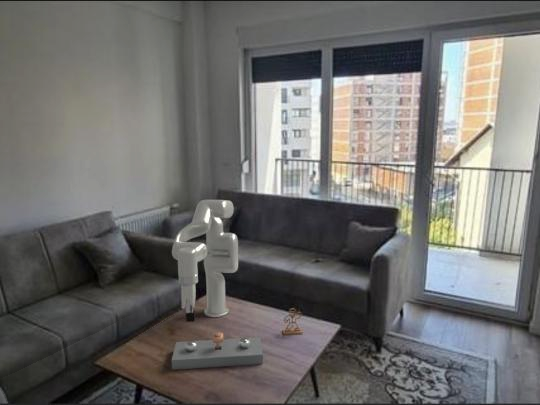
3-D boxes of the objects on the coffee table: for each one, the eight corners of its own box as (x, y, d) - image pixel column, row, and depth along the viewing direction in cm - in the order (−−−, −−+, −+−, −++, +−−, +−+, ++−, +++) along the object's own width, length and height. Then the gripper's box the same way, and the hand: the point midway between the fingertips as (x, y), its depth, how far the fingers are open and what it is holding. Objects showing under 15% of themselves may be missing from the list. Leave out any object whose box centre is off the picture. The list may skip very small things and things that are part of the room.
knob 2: (239, 350, 166) (239, 337, 165) (249, 349, 167) (249, 336, 166) (239, 356, 162) (239, 342, 161) (250, 355, 163) (250, 341, 162)
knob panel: (176, 350, 169) (176, 342, 168) (260, 345, 172) (260, 337, 172) (172, 369, 155) (171, 360, 154) (262, 363, 159) (262, 354, 158)
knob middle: (212, 345, 165) (212, 331, 164) (223, 344, 165) (223, 331, 164) (212, 350, 160) (212, 337, 160) (223, 350, 161) (223, 336, 160)
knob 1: (186, 353, 164) (186, 340, 163) (197, 352, 165) (196, 339, 164) (185, 359, 160) (184, 345, 159) (196, 358, 160) (195, 345, 159)
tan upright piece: (283, 335, 181) (283, 310, 179) (282, 331, 185) (282, 307, 183) (302, 334, 182) (302, 309, 180) (301, 330, 186) (301, 306, 184)
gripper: (181, 272, 164) (183, 312, 167) (176, 286, 149) (179, 330, 153) (199, 271, 165) (201, 311, 168) (196, 285, 150) (198, 329, 154)
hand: (190, 320), depth 160 cm, fingers closed
